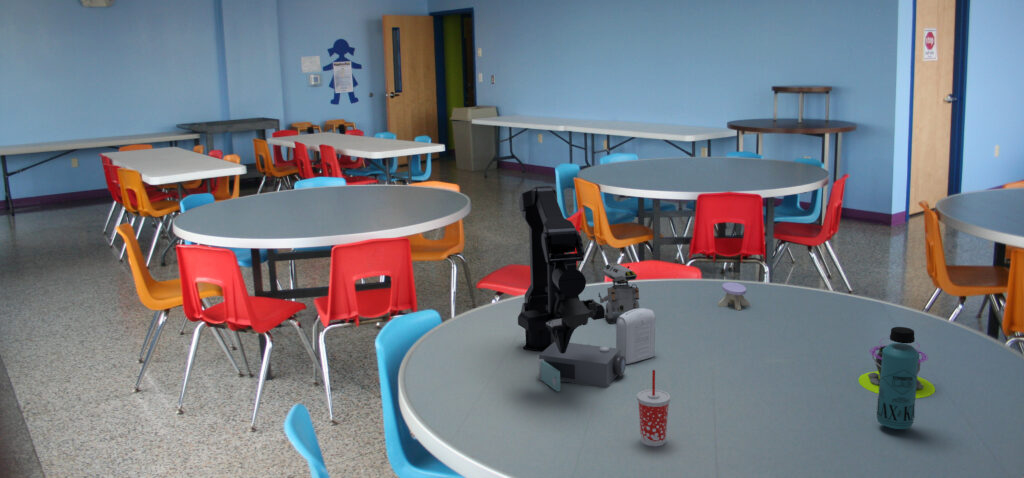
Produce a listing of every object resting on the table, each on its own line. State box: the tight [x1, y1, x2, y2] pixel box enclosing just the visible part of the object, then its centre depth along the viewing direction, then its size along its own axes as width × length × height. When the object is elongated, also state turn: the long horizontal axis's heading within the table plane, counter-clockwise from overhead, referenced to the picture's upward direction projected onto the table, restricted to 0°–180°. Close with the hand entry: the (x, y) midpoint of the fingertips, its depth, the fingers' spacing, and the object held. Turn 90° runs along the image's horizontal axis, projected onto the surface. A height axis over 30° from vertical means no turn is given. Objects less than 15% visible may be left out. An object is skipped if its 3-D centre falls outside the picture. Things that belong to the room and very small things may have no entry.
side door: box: [538, 358, 561, 392], centre depth 177 cm, size 9×1×5 cm, turn 25°
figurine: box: [598, 262, 640, 324], centre depth 222 cm, size 9×12×15 cm
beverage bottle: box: [876, 326, 920, 430], centre depth 150 cm, size 6×7×20 cm
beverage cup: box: [636, 369, 671, 447], centre depth 149 cm, size 6×6×14 cm
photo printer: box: [615, 307, 656, 365], centre depth 191 cm, size 10×4×12 cm, turn 123°
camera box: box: [538, 342, 627, 388], centre depth 183 cm, size 18×10×6 cm, turn 65°
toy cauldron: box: [858, 337, 936, 400], centre depth 172 cm, size 15×15×11 cm
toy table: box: [717, 281, 751, 311], centre depth 231 cm, size 10×9×6 cm
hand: (562, 352), depth 175 cm, fingers closed
